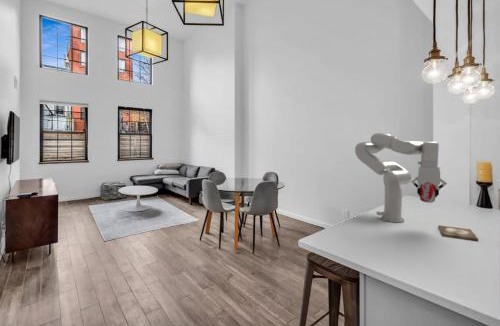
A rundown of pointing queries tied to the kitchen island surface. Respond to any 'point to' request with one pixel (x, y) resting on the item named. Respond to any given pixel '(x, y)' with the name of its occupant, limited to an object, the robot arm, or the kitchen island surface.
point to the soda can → (428, 192)
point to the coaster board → (457, 233)
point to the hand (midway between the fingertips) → (427, 195)
